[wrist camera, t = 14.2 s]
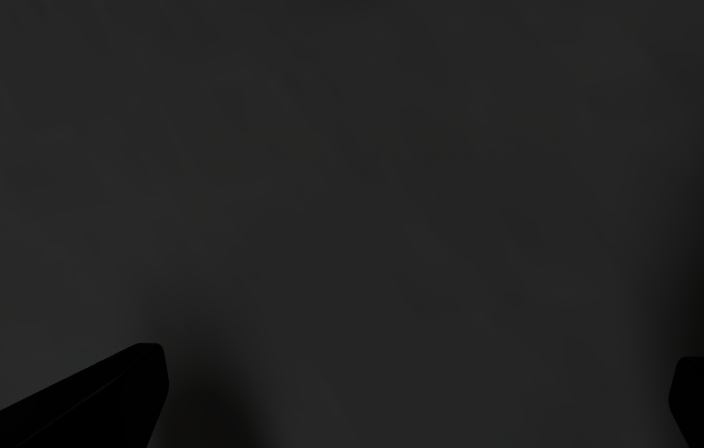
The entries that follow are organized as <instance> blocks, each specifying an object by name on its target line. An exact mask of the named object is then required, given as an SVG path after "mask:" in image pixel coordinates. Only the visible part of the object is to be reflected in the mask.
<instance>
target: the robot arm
mask: <svg viewBox="0 0 704 448" xmlns="http://www.w3.org/2000/svg"><path fill="white" fill-rule="evenodd" d="M168 390H169V379H168V373H167V367H166V361H165V355H164V351H163V348H162V346H161V345H159V344H157V343H137V344H135V345H132V346H130V347H128V348H126V349H124V350H122V351H120V352H118V353H116V354H114V355H112V356H110V357H108V358H106V359H104V360H102V361H100V362H98V363H96V364H94V365H92V366H90V367H88V368H86V369H84V370H82V371H80V372H78V373H76V374H73V375H71V376H69V377H67V378H65V379H63V380H61V381H59V382H57V383H55V384H53V385H51V386H49V387H47V388H45V389H43V390H41V391H39V392H37V393H35V394H33V395H31V396H29V397H27V398H25V399H23V400H21V401H19V402H17V403H14V404H12V405H10V406H8V407H6V408H4V409H2V410H0V448H147V445H148V443H149V440H150V438H151V435H152V432H153V430H154V427H155V425H156V422H157V420H158V417H159V415H160V412H161V410H162V407H163V405H164V402H165V400H166V397H167V394H168ZM669 407H670V410H671V412H672V415H673V417H674V419H675V420H676V422H677V424H678V426H679V428H680V430H681V432H682V434H683V436H684V438H685V440H686V442H687V444H688V446H689V448H704V357H683V358H681V359H680V360H679V361H678V363H677V365H676V369H675V373H674V377H673V381H672V385H671V389H670V393H669Z"/></svg>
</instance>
